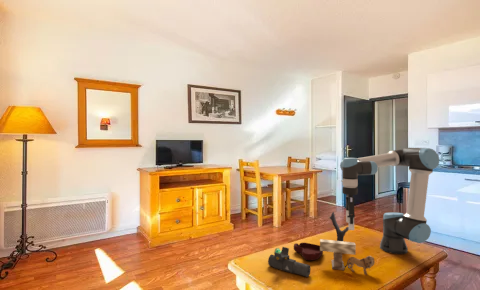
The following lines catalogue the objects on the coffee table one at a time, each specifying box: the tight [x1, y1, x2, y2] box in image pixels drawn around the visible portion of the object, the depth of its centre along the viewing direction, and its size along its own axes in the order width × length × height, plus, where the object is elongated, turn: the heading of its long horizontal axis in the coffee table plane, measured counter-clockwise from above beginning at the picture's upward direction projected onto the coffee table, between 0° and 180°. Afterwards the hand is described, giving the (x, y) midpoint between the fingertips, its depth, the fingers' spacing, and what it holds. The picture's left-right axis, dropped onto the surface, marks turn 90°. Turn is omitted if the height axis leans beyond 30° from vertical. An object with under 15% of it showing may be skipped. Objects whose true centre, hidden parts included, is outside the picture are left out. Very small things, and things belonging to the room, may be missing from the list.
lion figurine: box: [344, 255, 375, 276], centre depth 140 cm, size 15×5×9 cm, turn 63°
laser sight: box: [267, 246, 312, 278], centre depth 141 cm, size 10×22×10 cm, turn 54°
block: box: [319, 238, 357, 256], centre depth 146 cm, size 18×4×5 cm, turn 73°
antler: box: [329, 211, 349, 241], centre depth 166 cm, size 12×8×25 cm
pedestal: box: [331, 252, 345, 271], centre depth 146 cm, size 6×9×8 cm, turn 163°
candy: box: [273, 247, 282, 254], centre depth 157 cm, size 12×3×4 cm
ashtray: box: [293, 242, 324, 262], centre depth 160 cm, size 18×16×5 cm
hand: (349, 225), depth 145 cm, fingers open, 13 cm apart
